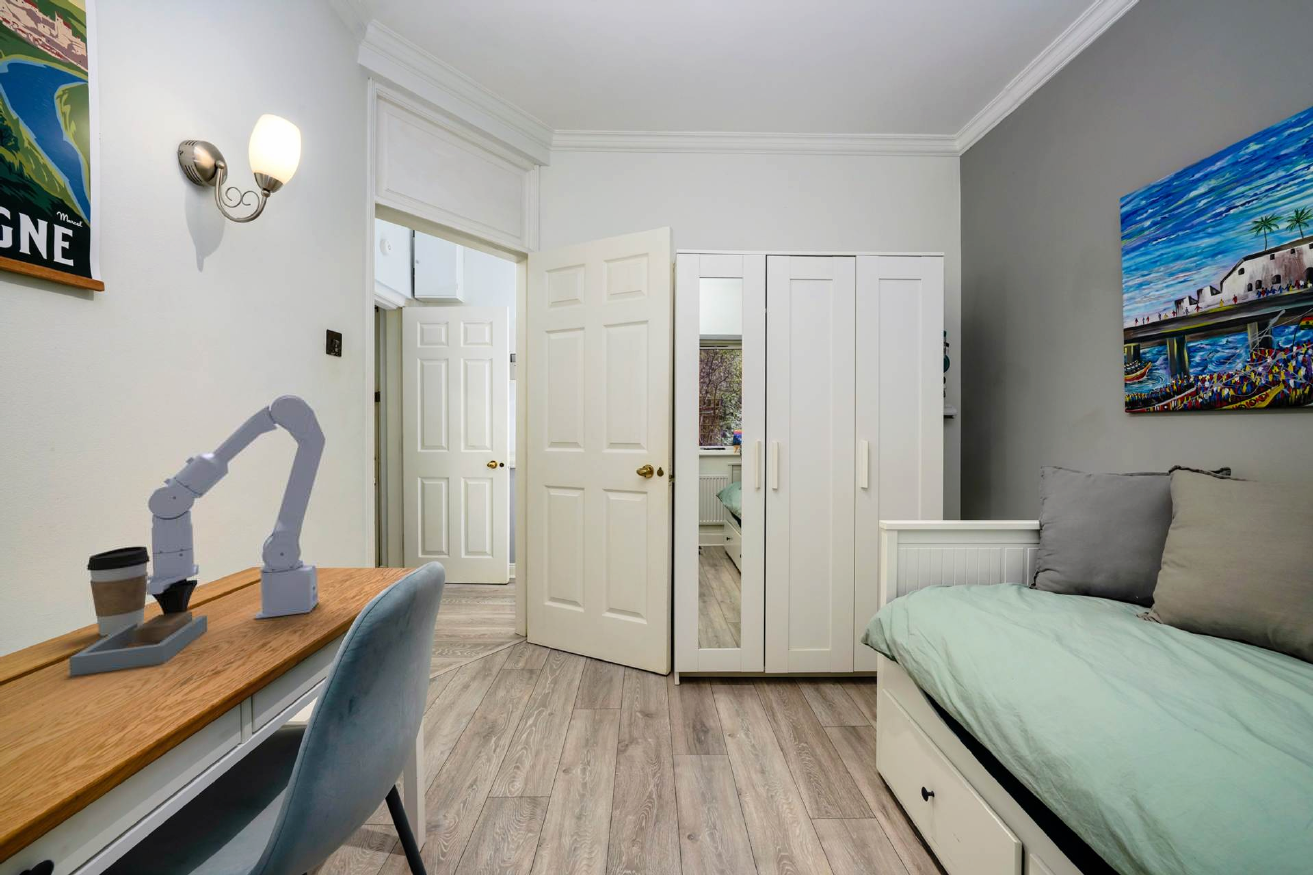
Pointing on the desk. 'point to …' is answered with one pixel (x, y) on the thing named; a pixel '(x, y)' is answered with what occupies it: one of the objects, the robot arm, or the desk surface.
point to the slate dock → (133, 649)
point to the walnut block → (160, 628)
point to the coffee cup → (119, 587)
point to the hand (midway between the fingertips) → (175, 622)
